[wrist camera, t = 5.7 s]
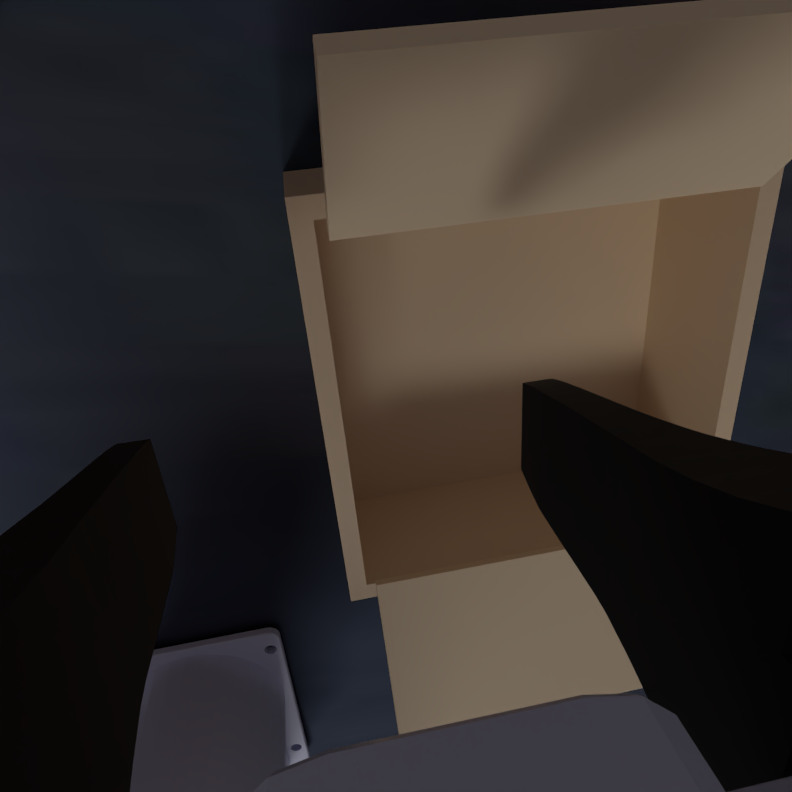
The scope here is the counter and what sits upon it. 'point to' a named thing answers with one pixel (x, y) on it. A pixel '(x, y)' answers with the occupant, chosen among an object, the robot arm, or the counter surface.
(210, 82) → the counter surface
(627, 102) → the flap
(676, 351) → the cardboard box
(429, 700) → the flap
